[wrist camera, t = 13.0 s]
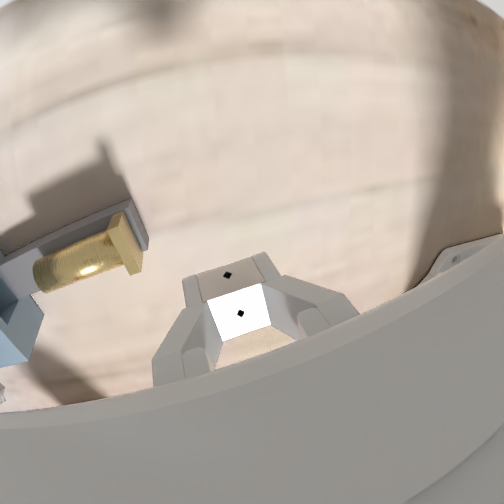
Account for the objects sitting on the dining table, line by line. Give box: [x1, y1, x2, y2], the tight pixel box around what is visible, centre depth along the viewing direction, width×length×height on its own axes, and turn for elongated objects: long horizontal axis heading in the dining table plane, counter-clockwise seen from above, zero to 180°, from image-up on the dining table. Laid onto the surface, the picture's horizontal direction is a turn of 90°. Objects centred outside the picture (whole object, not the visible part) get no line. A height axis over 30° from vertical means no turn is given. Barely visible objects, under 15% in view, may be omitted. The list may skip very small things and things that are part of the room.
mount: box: [0, 198, 149, 368], centre depth 15 cm, size 20×9×5 cm, turn 103°
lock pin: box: [33, 211, 143, 293], centre depth 15 cm, size 7×3×2 cm, turn 103°
